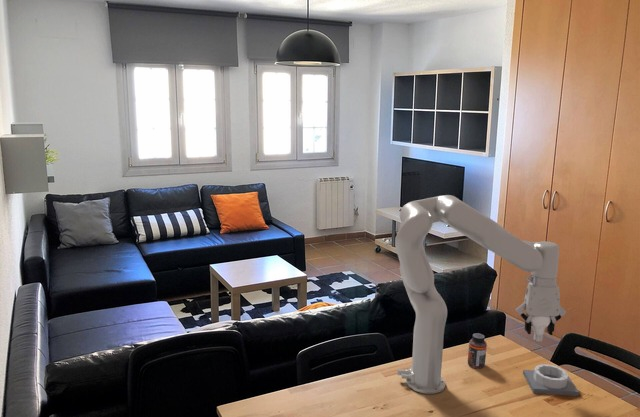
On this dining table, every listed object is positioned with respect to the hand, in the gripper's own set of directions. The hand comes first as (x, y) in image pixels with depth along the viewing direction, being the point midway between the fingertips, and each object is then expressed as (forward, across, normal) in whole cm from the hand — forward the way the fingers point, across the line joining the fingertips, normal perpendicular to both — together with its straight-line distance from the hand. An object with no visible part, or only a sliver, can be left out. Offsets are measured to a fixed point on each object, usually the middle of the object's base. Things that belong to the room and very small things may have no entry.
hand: (538, 332), depth 170 cm
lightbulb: (+3, 0, 0) cm, 3 cm away
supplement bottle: (+18, -17, +10) cm, 27 cm away
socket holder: (+18, +5, 0) cm, 19 cm away
